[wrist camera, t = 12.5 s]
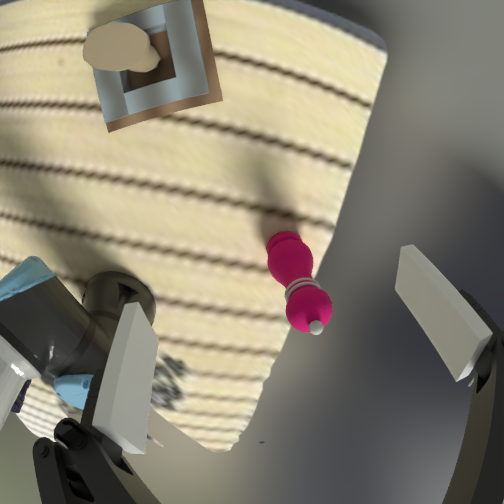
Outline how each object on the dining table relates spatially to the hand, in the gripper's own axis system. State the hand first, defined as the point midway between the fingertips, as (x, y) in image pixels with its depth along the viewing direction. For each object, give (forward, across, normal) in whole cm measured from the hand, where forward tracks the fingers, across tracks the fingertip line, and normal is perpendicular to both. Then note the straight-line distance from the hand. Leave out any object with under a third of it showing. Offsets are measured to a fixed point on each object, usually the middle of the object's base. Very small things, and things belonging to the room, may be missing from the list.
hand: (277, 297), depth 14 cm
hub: (+32, -9, +17) cm, 37 cm away
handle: (+31, -9, +17) cm, 36 cm away
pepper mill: (+32, +5, -17) cm, 37 cm away
